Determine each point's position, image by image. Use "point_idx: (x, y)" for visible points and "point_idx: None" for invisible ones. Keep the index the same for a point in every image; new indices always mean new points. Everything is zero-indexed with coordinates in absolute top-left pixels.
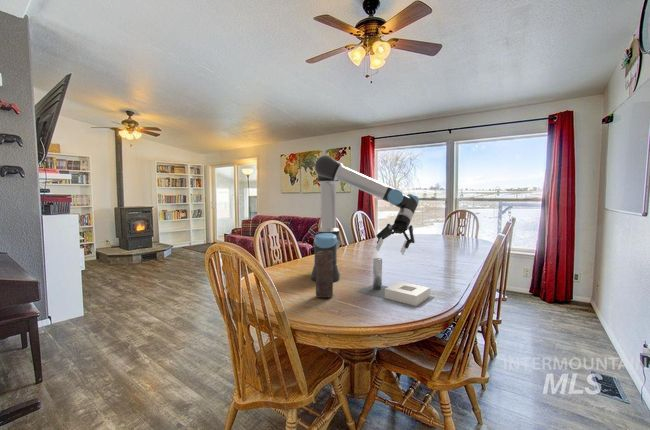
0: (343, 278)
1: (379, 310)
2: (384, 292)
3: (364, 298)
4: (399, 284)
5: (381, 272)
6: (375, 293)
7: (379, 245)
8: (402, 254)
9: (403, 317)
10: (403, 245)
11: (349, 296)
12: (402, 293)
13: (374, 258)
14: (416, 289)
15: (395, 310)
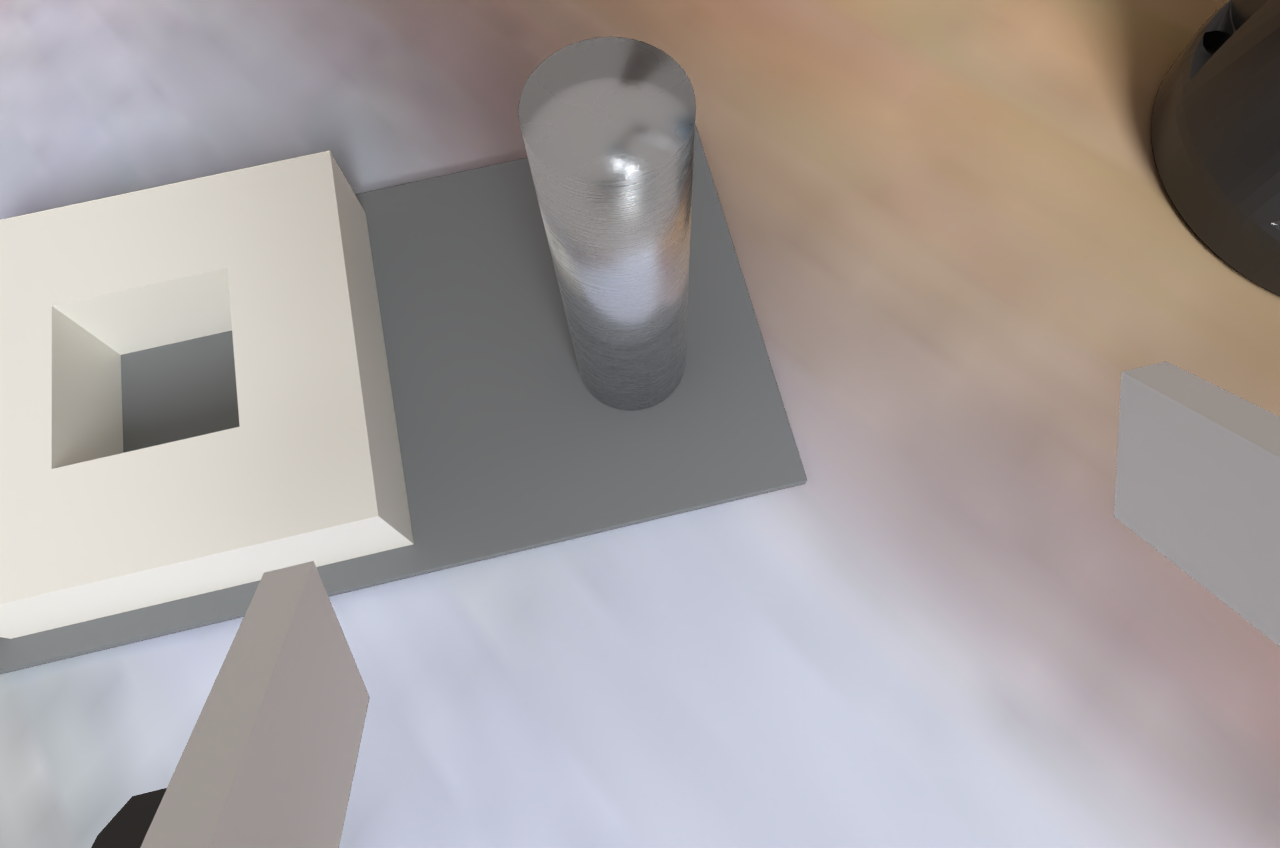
0: (1264, 343)
1: (234, 15)
2: (480, 328)
3: (514, 91)
4: (304, 401)
5: (554, 266)
6: (522, 232)
7: (1231, 513)
8: (356, 696)
9: (14, 58)
10: (228, 732)
11: (644, 24)
12: (112, 201)
13: (679, 86)
14: (34, 410)
15: (135, 106)
